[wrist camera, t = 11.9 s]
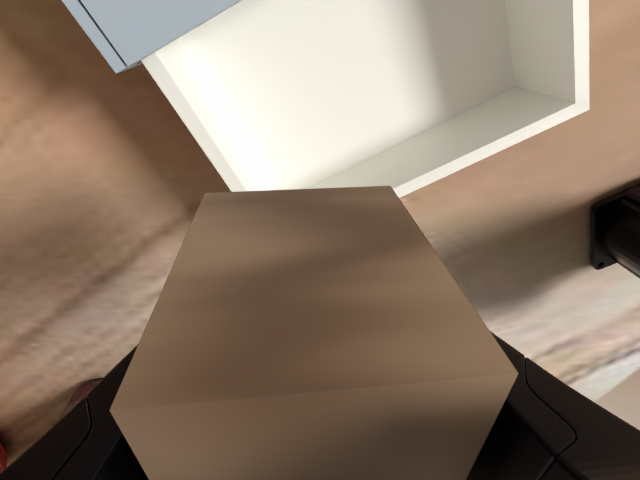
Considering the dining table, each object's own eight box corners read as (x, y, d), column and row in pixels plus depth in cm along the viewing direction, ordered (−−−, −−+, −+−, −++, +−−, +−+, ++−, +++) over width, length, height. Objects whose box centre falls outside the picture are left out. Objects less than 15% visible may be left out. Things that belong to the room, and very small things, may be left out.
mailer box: (521, 90, 19) (589, 109, 15) (274, 210, 22) (275, 255, 18) (483, -250, 13) (587, -385, 8) (128, -23, 15) (71, -41, 11)
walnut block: (390, 185, 9) (518, 373, 4) (374, 316, 12) (442, 526, 7) (204, 192, 9) (109, 410, 4) (230, 327, 12) (194, 558, 7)
